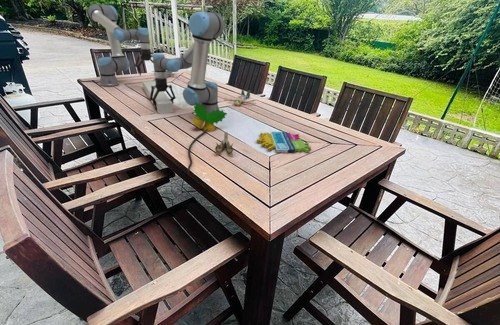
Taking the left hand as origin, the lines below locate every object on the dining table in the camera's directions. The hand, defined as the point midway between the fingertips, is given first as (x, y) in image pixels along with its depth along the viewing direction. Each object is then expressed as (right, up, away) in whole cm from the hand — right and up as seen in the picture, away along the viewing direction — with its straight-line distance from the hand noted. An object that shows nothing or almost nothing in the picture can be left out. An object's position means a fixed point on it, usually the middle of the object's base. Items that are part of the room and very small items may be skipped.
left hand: (148, 75), depth 228 cm
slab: (+13, -25, -15) cm, 32 cm away
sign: (+107, -65, -75) cm, 146 cm away
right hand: (+26, -37, -38) cm, 59 cm away
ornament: (+63, -55, -63) cm, 105 cm away
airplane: (-4, +16, +55) cm, 58 cm away
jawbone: (+75, -71, -89) cm, 136 cm away
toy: (+81, -25, -7) cm, 85 cm away
